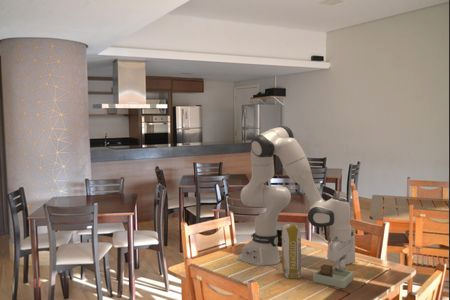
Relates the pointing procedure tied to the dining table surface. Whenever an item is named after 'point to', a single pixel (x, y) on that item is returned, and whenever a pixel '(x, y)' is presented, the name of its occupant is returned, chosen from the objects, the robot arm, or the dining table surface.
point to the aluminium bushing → (341, 265)
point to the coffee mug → (279, 235)
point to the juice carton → (291, 251)
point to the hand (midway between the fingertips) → (340, 265)
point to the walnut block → (327, 270)
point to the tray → (334, 278)
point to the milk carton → (351, 252)
